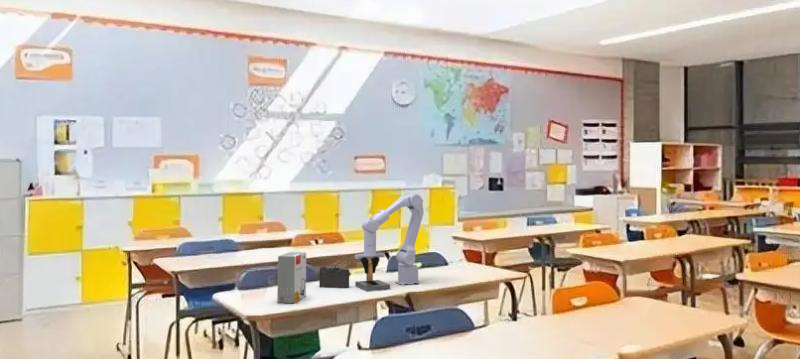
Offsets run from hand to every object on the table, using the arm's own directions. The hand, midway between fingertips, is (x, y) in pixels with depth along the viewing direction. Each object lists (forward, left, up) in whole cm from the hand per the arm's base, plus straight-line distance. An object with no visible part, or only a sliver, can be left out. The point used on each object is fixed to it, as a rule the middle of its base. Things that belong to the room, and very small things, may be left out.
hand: (369, 273), depth 327 cm
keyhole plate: (0, +3, -6) cm, 7 cm away
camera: (+14, -8, -7) cm, 18 cm away
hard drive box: (+42, +14, -7) cm, 45 cm away
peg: (0, 0, -3) cm, 3 cm away
